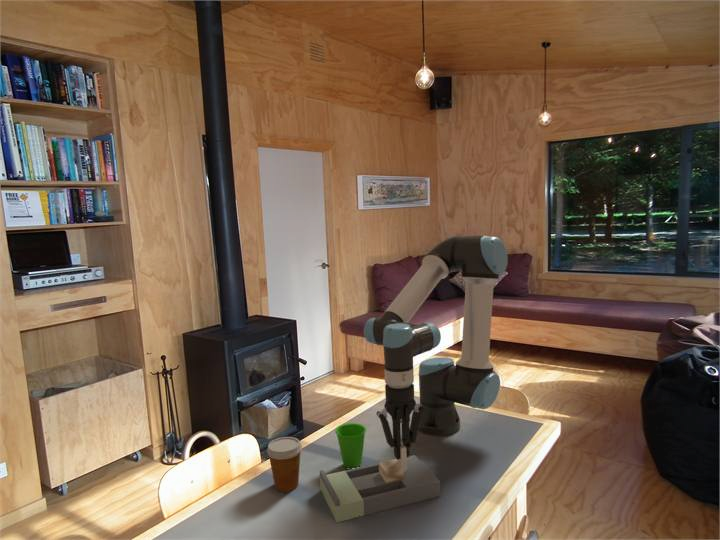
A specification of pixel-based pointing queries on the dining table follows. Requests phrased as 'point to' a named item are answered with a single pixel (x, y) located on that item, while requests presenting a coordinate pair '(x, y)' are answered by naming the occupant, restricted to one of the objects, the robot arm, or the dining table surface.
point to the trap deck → (376, 489)
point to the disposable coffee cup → (285, 462)
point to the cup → (351, 443)
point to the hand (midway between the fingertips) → (402, 468)
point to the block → (391, 470)
